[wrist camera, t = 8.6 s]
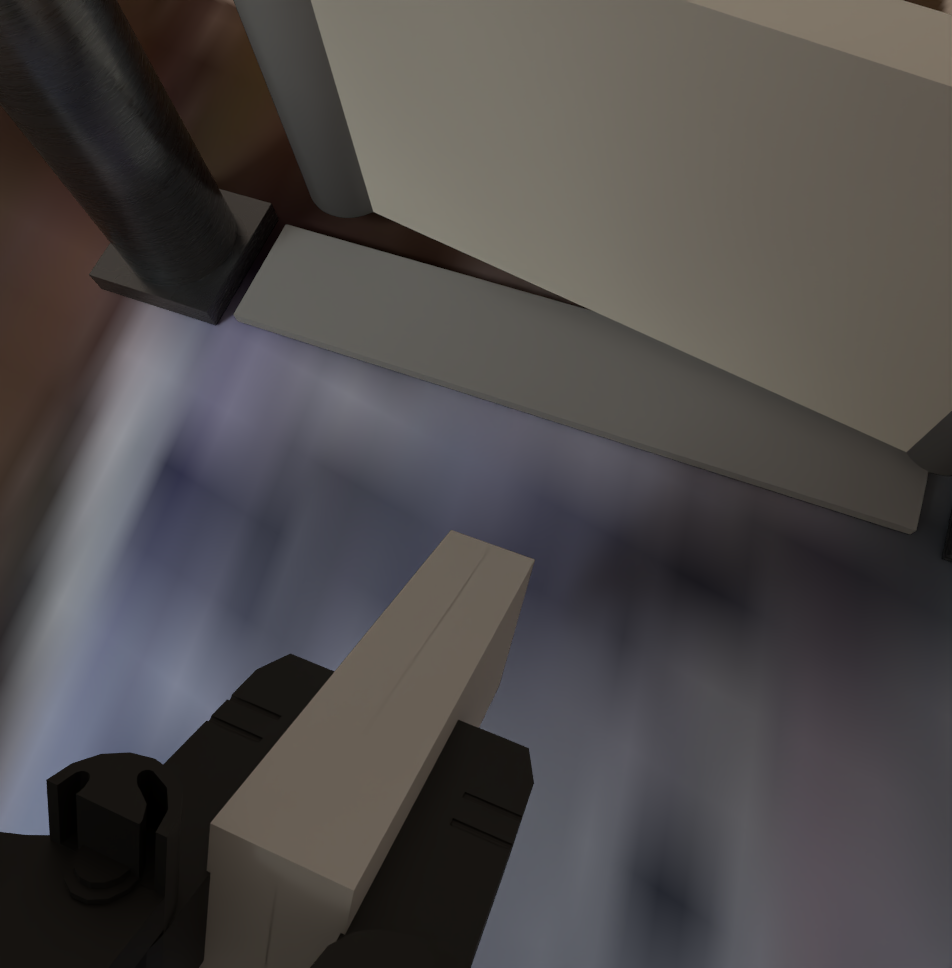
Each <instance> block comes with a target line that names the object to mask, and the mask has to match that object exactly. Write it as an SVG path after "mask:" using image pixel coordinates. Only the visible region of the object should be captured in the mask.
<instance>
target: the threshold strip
mask: <svg viewBox="0 0 952 968" xmlns="http://www.w3.org/2000/svg"><path fill="white" fill-rule="evenodd" d="M233 315H234V316H235V318H236V319H237V321H239V322H242V323H245V324H248V325H252V326H255V327H258V328H261V329H264V330H267V331H270V332H274V333H277V334H280V335H283V336H286V337H289V338H292V339H296V340H299V341H302V342H305V343H308V344H311V345H315V346H318V347H321V348H324V349H327V350H330V351H333V352H337V353H340V354H343V355H346V356H349V357H352V358H355V359H359V360H362V361H365V362H368V363H371V364H374V365H377V366H381V367H384V368H387V369H390V370H393V371H396V372H400V373H403V374H406V375H409V376H412V377H415V378H418V379H422V380H425V381H428V382H431V383H434V384H437V385H440V386H444V387H447V388H450V389H453V390H456V391H459V392H462V393H466V394H469V395H472V396H475V397H478V398H481V399H485V400H488V401H491V402H494V403H497V404H500V405H503V406H507V407H510V408H513V409H516V410H519V411H522V412H525V413H529V414H532V415H535V416H538V417H541V418H544V419H547V420H551V421H554V422H557V423H560V424H563V425H566V426H570V427H573V428H576V429H579V430H582V431H585V432H588V433H592V434H595V435H598V436H601V437H604V438H607V439H610V440H614V441H617V442H620V443H623V444H626V445H629V446H632V447H636V448H639V449H642V450H645V451H648V452H651V453H655V454H658V455H661V456H664V457H667V458H670V459H673V460H677V461H680V462H683V463H686V464H689V465H692V466H695V467H699V468H702V469H705V470H708V471H711V472H714V473H717V474H721V475H724V476H727V477H730V478H733V479H736V480H740V481H743V482H746V483H749V484H752V485H755V486H758V487H762V488H765V489H768V490H771V491H774V492H777V493H780V494H784V495H787V496H790V497H793V498H796V499H799V500H802V501H806V502H809V503H812V504H815V505H818V506H821V507H825V508H828V509H831V510H834V511H837V512H840V513H843V514H847V515H850V516H853V517H856V518H859V519H862V520H865V521H869V522H872V523H875V524H878V525H881V526H884V527H887V528H891V529H894V530H897V531H900V532H903V533H906V534H912V533H913V532H915V531H916V530H917V525H918V520H919V516H920V511H921V506H922V501H923V497H924V492H925V487H926V483H927V478H928V473H929V471H927V470H925V469H923V468H921V467H920V466H918V465H917V464H916V463H915V462H914V461H913V460H912V459H911V458H910V457H909V456H908V454H907V453H906V452H905V451H902V450H900V449H898V448H896V447H893V446H891V445H889V444H887V443H885V442H882V441H880V440H878V439H876V438H874V437H871V436H869V435H867V434H865V433H862V432H860V431H858V430H856V429H854V428H851V427H849V426H847V425H845V424H842V423H840V422H838V421H836V420H834V419H831V418H829V417H827V416H825V415H823V414H820V413H818V412H816V411H814V410H811V409H809V408H807V407H805V406H803V405H800V404H798V403H796V402H794V401H791V400H789V399H787V398H785V397H783V396H780V395H778V394H776V393H774V392H772V391H769V390H767V389H765V388H763V387H760V386H758V385H756V384H754V383H752V382H749V381H747V380H745V379H743V378H740V377H738V376H736V375H734V374H732V373H729V372H727V371H725V370H723V369H721V368H718V367H716V366H714V365H712V364H709V363H707V362H705V361H703V360H701V359H698V358H696V357H694V356H692V355H689V354H687V353H685V352H683V351H681V350H678V349H676V348H674V347H672V346H670V345H667V344H665V343H663V342H661V341H658V340H656V339H654V338H652V337H650V336H647V335H645V334H643V333H641V332H638V331H636V330H634V329H632V328H630V327H627V326H625V325H623V324H621V323H619V322H616V321H614V320H612V319H610V318H607V317H605V316H603V315H601V314H599V313H596V312H594V311H591V310H587V309H584V308H580V307H577V306H573V305H570V304H566V303H563V302H559V301H556V300H552V299H549V298H545V297H542V296H538V295H534V294H531V293H527V292H524V291H520V290H517V289H513V288H510V287H506V286H503V285H499V284H496V283H492V282H489V281H485V280H481V279H478V278H474V277H471V276H467V275H464V274H460V273H457V272H453V271H450V270H446V269H443V268H439V267H436V266H432V265H428V264H425V263H421V262H418V261H414V260H411V259H407V258H404V257H400V256H397V255H393V254H390V253H386V252H383V251H379V250H375V249H372V248H368V247H365V246H361V245H358V244H354V243H351V242H347V241H344V240H340V239H337V238H333V237H330V236H326V235H322V234H319V233H315V232H312V231H308V230H305V229H301V228H298V227H294V226H291V225H287V224H286V225H285V227H284V228H283V230H282V232H281V234H280V235H279V237H278V239H277V240H276V242H275V244H274V246H273V247H272V249H271V251H270V252H269V254H268V256H267V258H266V259H265V261H264V263H263V264H262V266H261V268H260V270H259V271H258V273H257V275H256V276H255V278H254V280H253V282H252V283H251V285H250V287H249V289H248V290H247V292H246V294H245V295H244V297H243V299H242V301H241V302H240V304H239V306H238V307H237V309H236V311H235V313H234V314H233Z"/></svg>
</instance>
